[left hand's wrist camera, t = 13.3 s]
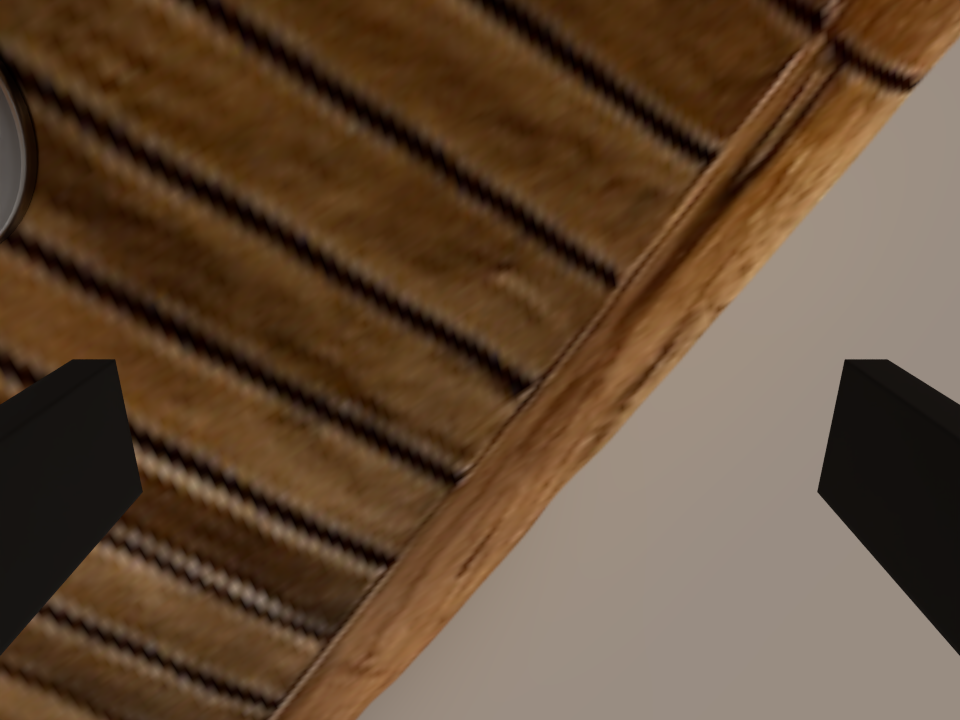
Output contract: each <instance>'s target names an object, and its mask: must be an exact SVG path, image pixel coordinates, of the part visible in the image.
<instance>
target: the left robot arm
mask: <svg viewBox="0 0 960 720" xmlns="http://www.w3.org/2000/svg"><path fill="white" fill-rule="evenodd" d="M36 175H37V150H36V142H35V135H34V131H33V127H32V123H31V119H30V116H29V113H28V110H27V107H26V105H25V102H24V100H23V98H22V95H21V93H20V91H19V89H18V87H17V85H16V83H15V81H14V79H13V78H12V76H11V74H10V73H9V71H8V70H7V68H6V67H5V65H4V64H3V62H2V61H1V59H0V243H2V242H3V241H4V240H5V239H6V238H8V236H9V235H10V234H11V233H12V232H13V231H14V230H15V229H16V227H17V226H18V225H19V223H20V222H21V220H22V219H23V217H24V215H25V213H26V211H27V209H28V207H29V204H30V202H31V199H32V195H33V192H34V188H35V182H36ZM142 492H143V491H142V486H141V482H140V477H139V472H138V467H137V462H136V457H135V453H134V448H133V443H132V438H131V433H130V429H129V424H128V419H127V414H126V409H125V404H124V400H123V395H122V390H121V385H120V380H119V376H118V371H117V366H116V361H115V359H73V360H71V361H69V362H68V363H66V364H65V365H63V366H61V367H60V368H58V369H57V370H55V371H53V372H52V373H50V374H49V375H47V376H45V377H44V378H42V379H41V380H39V381H37V382H36V383H34V384H33V385H31V386H29V387H28V388H26V389H25V390H23V391H21V392H20V393H18V394H17V395H15V396H14V397H12V398H10V399H9V400H7V401H6V402H4V403H2V404H1V405H0V655H1V654H2V653H3V652H4V651H5V650H6V648H7V647H8V646H9V645H10V644H11V643H12V642H13V640H14V639H15V638H16V637H17V636H18V635H19V633H20V632H21V631H22V630H23V629H24V628H25V627H26V625H27V624H28V623H29V622H30V621H31V620H32V619H33V617H34V616H35V615H36V614H37V613H38V612H39V610H40V609H41V608H42V607H43V606H44V605H45V604H46V602H47V601H48V600H49V599H50V598H51V597H52V596H53V594H54V593H55V592H56V591H57V590H58V589H59V588H60V586H61V585H62V584H63V583H64V582H65V581H66V579H67V578H68V577H69V576H70V575H71V574H72V573H73V571H74V570H75V569H76V568H77V567H78V566H79V565H80V563H81V562H82V561H83V560H84V559H85V558H86V556H87V555H88V554H89V553H90V552H91V551H92V550H93V548H94V547H95V546H96V545H97V544H98V543H99V542H100V540H101V539H102V538H103V537H104V536H105V535H106V533H107V532H108V531H109V530H110V529H111V528H112V527H113V525H114V524H115V523H116V522H117V521H118V520H119V519H120V517H121V516H122V515H123V514H124V513H125V512H126V511H127V509H128V508H129V507H130V506H131V505H132V504H133V502H134V501H135V500H136V499H137V498H138V497H139V496H140V494H141V493H142ZM817 492H818V493H819V494H820V496H821V497H822V498H823V499H824V500H825V501H826V502H827V504H828V505H829V506H830V507H831V508H832V509H833V511H834V512H835V513H836V514H837V515H838V516H839V517H840V519H841V520H842V521H843V522H844V523H845V524H846V525H847V527H848V528H849V529H850V530H851V531H852V532H853V533H854V534H855V536H856V537H857V538H858V539H859V540H860V542H861V543H862V544H863V545H864V546H865V547H866V548H867V550H868V551H869V552H870V553H871V554H872V555H873V556H874V558H875V559H876V560H877V561H878V562H879V563H880V565H881V566H882V567H883V568H884V569H885V570H886V571H887V573H888V574H889V575H890V576H891V577H892V578H893V579H894V581H895V582H896V583H897V584H898V585H899V586H900V587H901V589H902V590H903V591H904V592H905V593H906V594H907V595H908V597H909V598H910V599H911V600H912V601H913V602H914V604H915V605H916V606H917V607H918V608H919V609H920V610H921V612H922V613H923V614H924V615H925V616H926V617H927V618H928V620H929V621H930V622H931V623H932V624H933V625H934V627H935V628H936V629H937V630H938V631H939V632H940V633H941V635H942V636H943V637H944V638H945V639H946V640H947V642H948V643H949V644H950V645H951V646H952V647H953V648H954V650H955V651H956V652H957V653H958V654H959V655H960V405H959V404H958V403H956V402H954V401H953V400H951V399H950V398H948V397H946V396H945V395H943V394H942V393H940V392H938V391H937V390H935V389H934V388H932V387H930V386H929V385H927V384H926V383H924V382H923V381H921V380H919V379H918V378H916V377H915V376H913V375H911V374H910V373H908V372H907V371H905V370H903V369H902V368H900V367H899V366H897V365H895V364H894V363H892V362H891V361H889V360H887V359H884V360H883V359H881V360H880V359H876V360H875V359H867V360H866V359H863V360H862V359H861V360H857V359H856V360H855V359H848V360H847V359H845V361H844V366H843V371H842V376H841V380H840V385H839V390H838V395H837V400H836V404H835V409H834V414H833V419H832V424H831V429H830V433H829V438H828V443H827V448H826V453H825V457H824V462H823V467H822V472H821V477H820V482H819V486H818V491H817Z"/></svg>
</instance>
